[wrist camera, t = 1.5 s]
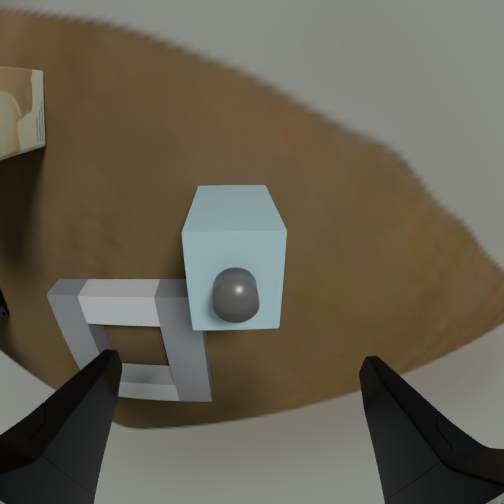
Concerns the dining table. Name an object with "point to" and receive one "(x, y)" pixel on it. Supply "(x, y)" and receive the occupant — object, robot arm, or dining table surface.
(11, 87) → the skincare box
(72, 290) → the socket block
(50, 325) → the dining table surface
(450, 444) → the robot arm
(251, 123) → the dining table surface
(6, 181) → the dining table surface
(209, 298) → the plug
